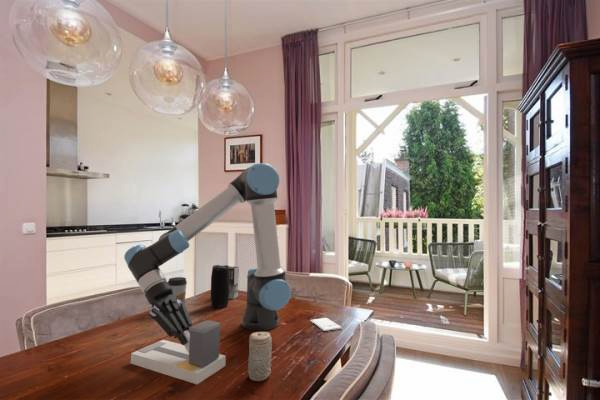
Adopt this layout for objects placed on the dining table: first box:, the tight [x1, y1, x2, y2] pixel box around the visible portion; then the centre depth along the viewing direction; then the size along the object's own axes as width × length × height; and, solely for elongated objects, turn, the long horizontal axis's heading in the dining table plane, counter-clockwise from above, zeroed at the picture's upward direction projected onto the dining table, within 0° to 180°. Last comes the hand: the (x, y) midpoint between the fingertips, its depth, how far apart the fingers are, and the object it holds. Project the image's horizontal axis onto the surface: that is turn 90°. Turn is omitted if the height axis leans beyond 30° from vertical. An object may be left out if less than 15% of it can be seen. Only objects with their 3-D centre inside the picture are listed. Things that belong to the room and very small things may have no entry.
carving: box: [247, 331, 273, 382], centre depth 92 cm, size 6×8×12 cm
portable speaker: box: [210, 264, 230, 309], centre depth 160 cm, size 9×9×20 cm
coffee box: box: [228, 265, 240, 300], centre depth 177 cm, size 9×6×16 cm
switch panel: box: [130, 339, 227, 385], centre depth 99 cm, size 26×12×3 cm, turn 65°
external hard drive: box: [309, 317, 343, 332], centre depth 135 cm, size 2×8×12 cm
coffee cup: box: [167, 276, 188, 301], centre depth 150 cm, size 8×8×15 cm
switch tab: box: [189, 319, 221, 367], centre depth 95 cm, size 5×7×10 cm
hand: (194, 351), depth 96 cm, fingers closed
